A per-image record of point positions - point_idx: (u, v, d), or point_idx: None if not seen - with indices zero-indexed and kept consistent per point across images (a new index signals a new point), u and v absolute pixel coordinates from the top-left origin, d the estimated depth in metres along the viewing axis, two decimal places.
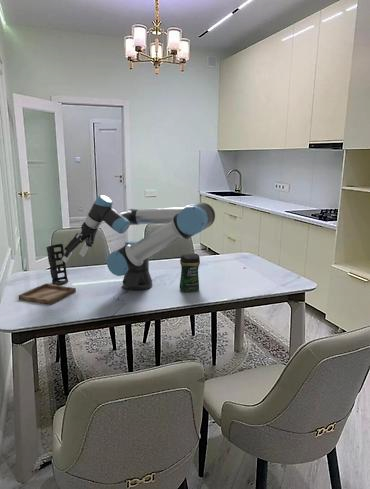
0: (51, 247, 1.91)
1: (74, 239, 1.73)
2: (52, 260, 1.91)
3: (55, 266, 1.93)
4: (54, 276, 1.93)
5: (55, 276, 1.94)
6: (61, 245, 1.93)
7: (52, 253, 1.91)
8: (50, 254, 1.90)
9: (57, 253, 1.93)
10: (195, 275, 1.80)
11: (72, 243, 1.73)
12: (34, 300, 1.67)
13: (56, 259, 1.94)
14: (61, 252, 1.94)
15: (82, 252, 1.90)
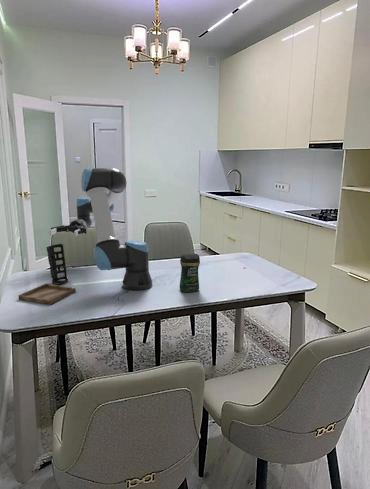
0: (51, 247, 1.91)
1: None
2: (52, 260, 1.91)
3: (55, 266, 1.93)
4: (54, 276, 1.93)
5: (55, 276, 1.94)
6: (61, 245, 1.93)
7: (52, 253, 1.91)
8: (50, 254, 1.90)
9: (57, 253, 1.93)
10: (195, 275, 1.80)
11: None
12: (34, 300, 1.67)
13: (56, 259, 1.94)
14: (61, 252, 1.94)
15: None
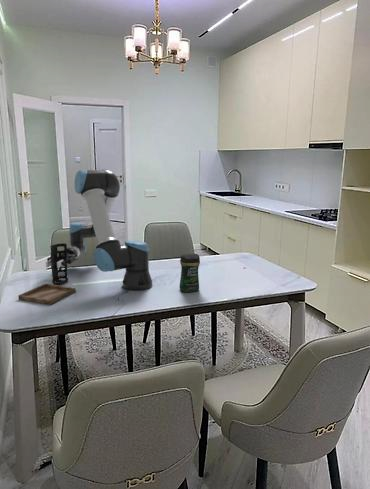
0: (55, 246, 1.90)
1: None
2: (54, 259, 1.91)
3: None
4: (55, 275, 1.92)
5: (56, 275, 1.93)
6: (65, 245, 1.93)
7: (55, 252, 1.91)
8: (53, 253, 1.89)
9: (60, 252, 1.93)
10: (195, 275, 1.80)
11: None
12: (34, 300, 1.67)
13: (58, 258, 1.93)
14: (64, 251, 1.93)
15: None
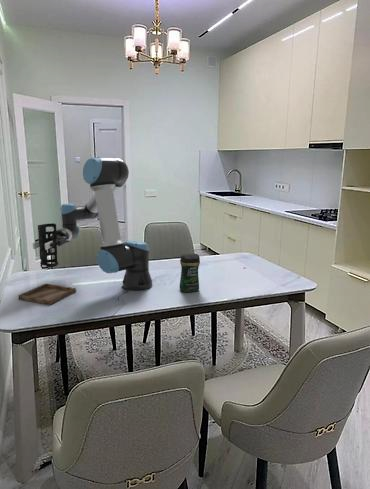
0: (43, 226, 1.74)
1: None
2: (43, 240, 1.75)
3: None
4: (43, 258, 1.76)
5: (44, 258, 1.77)
6: (54, 225, 1.76)
7: (43, 232, 1.74)
8: (41, 233, 1.73)
9: (49, 233, 1.76)
10: (195, 275, 1.80)
11: None
12: (34, 300, 1.67)
13: (47, 239, 1.77)
14: (53, 232, 1.77)
15: None
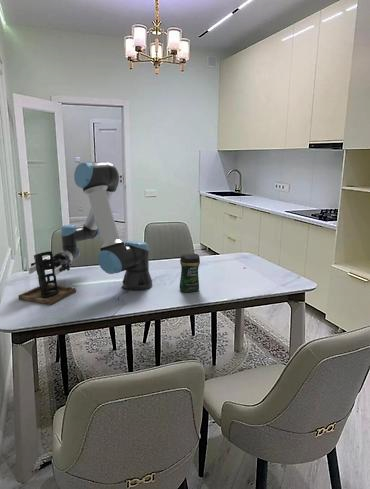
0: (39, 255, 1.72)
1: None
2: (40, 269, 1.73)
3: (44, 276, 1.75)
4: (43, 287, 1.75)
5: (44, 287, 1.76)
6: (50, 253, 1.75)
7: (40, 262, 1.73)
8: (38, 263, 1.72)
9: (46, 261, 1.75)
10: (195, 275, 1.80)
11: None
12: (34, 300, 1.67)
13: (45, 268, 1.75)
14: (50, 260, 1.76)
15: None
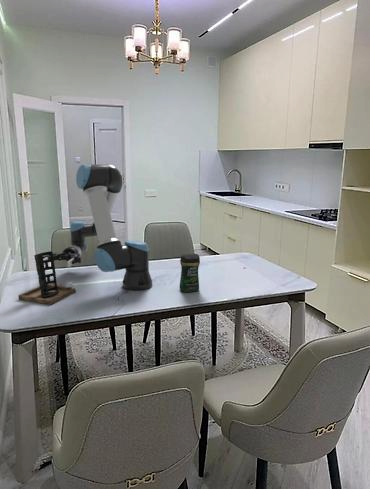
0: (40, 255, 1.72)
1: None
2: (41, 269, 1.73)
3: (44, 276, 1.75)
4: (43, 287, 1.75)
5: (44, 287, 1.76)
6: (51, 253, 1.75)
7: (41, 262, 1.73)
8: (38, 263, 1.72)
9: (46, 262, 1.75)
10: (195, 275, 1.80)
11: None
12: (34, 300, 1.67)
13: (45, 268, 1.75)
14: (51, 260, 1.76)
15: None
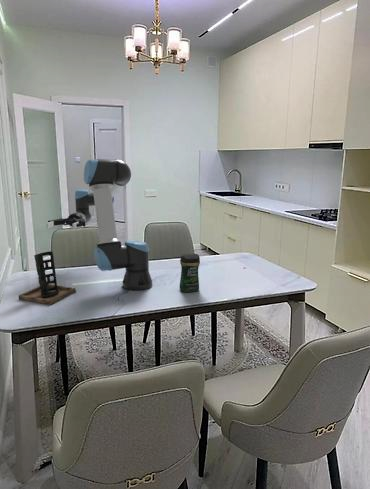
0: (40, 255, 1.72)
1: None
2: (41, 269, 1.73)
3: (44, 276, 1.75)
4: (43, 287, 1.75)
5: (44, 287, 1.76)
6: (51, 253, 1.75)
7: (41, 262, 1.73)
8: (38, 263, 1.72)
9: (46, 262, 1.75)
10: (195, 275, 1.80)
11: None
12: (34, 300, 1.67)
13: (45, 268, 1.75)
14: (51, 260, 1.76)
15: None
